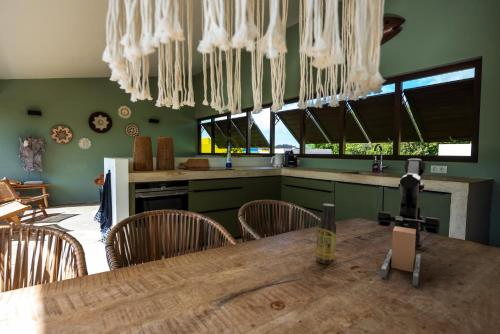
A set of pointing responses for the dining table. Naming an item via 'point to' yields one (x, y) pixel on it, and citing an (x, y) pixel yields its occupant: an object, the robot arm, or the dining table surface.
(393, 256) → the terracotta block
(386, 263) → the chute
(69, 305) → the dining table surface
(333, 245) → the sauce bottle
